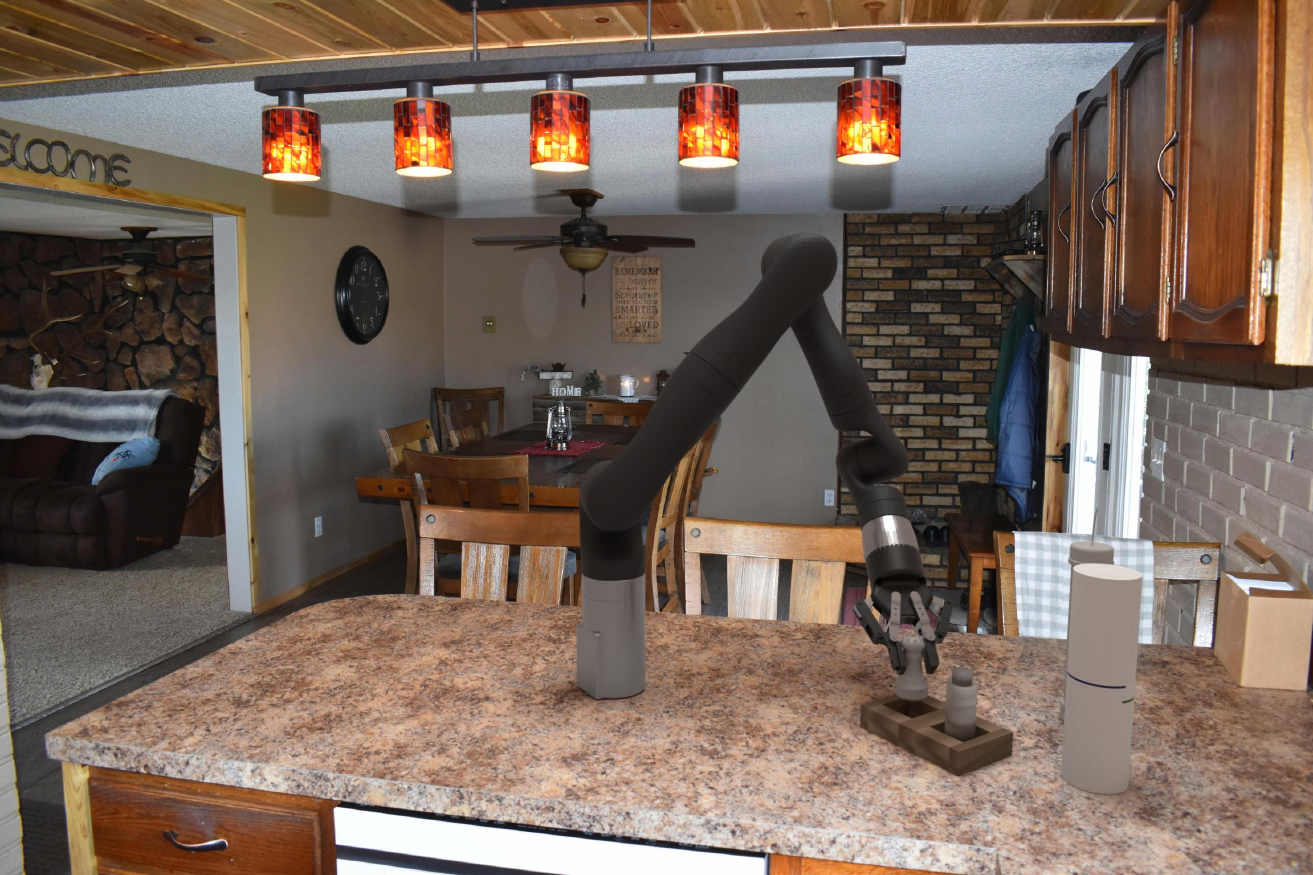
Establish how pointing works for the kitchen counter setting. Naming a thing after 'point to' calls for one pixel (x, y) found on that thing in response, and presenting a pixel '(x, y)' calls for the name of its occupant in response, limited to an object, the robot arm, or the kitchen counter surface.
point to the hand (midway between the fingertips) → (917, 671)
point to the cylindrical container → (1101, 677)
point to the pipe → (1078, 555)
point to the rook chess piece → (912, 670)
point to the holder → (941, 727)
